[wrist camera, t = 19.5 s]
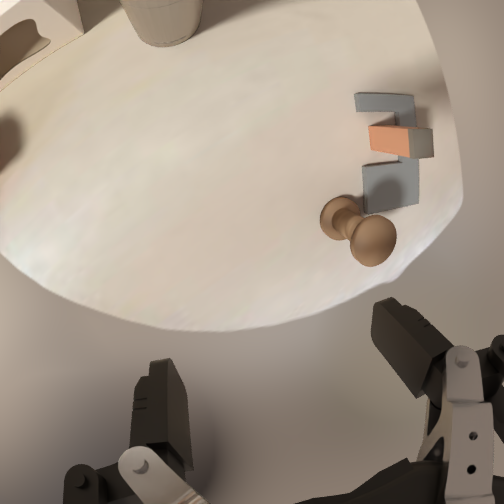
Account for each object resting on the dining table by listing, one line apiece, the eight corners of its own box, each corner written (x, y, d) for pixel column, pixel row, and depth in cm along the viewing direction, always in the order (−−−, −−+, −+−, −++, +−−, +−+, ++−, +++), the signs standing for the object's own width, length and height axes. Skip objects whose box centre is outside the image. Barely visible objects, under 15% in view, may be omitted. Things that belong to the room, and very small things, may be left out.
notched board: (354, 94, 38) (358, 93, 37) (409, 96, 40) (413, 95, 39) (364, 212, 47) (367, 214, 46) (414, 201, 48) (418, 203, 47)
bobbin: (318, 201, 44) (354, 223, 34) (356, 193, 45) (397, 213, 35) (321, 241, 47) (354, 272, 37) (357, 233, 48) (395, 259, 38)
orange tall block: (368, 125, 41) (412, 129, 31) (387, 124, 41) (432, 128, 31) (370, 150, 43) (414, 159, 33) (389, 148, 43) (433, 157, 33)
